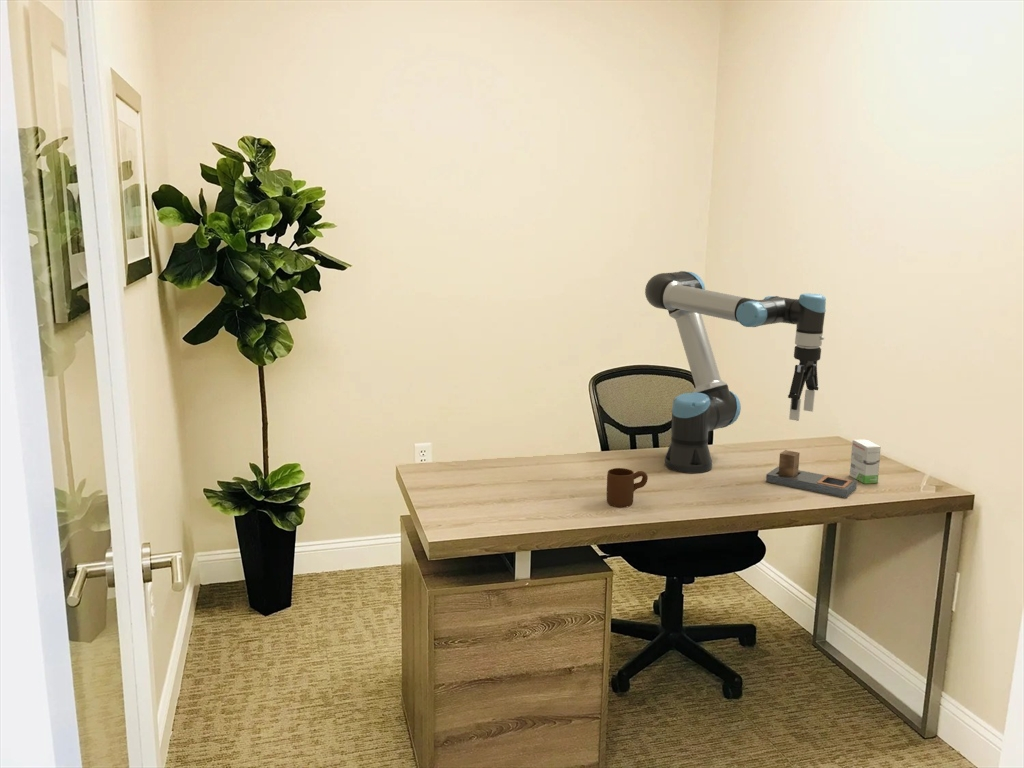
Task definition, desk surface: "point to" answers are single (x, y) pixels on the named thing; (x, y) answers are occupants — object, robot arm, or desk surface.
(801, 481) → the grey socket board
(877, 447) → the ink box
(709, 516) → the desk surface
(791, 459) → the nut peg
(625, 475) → the mug
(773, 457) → the desk surface
